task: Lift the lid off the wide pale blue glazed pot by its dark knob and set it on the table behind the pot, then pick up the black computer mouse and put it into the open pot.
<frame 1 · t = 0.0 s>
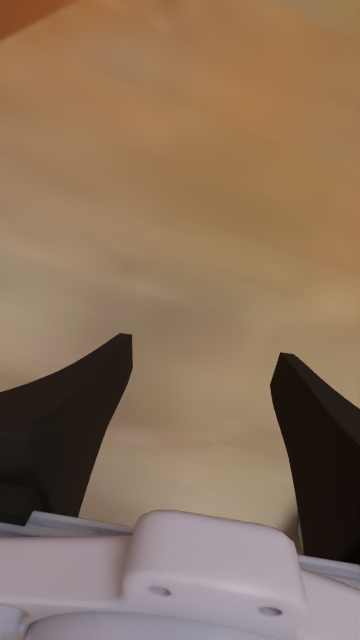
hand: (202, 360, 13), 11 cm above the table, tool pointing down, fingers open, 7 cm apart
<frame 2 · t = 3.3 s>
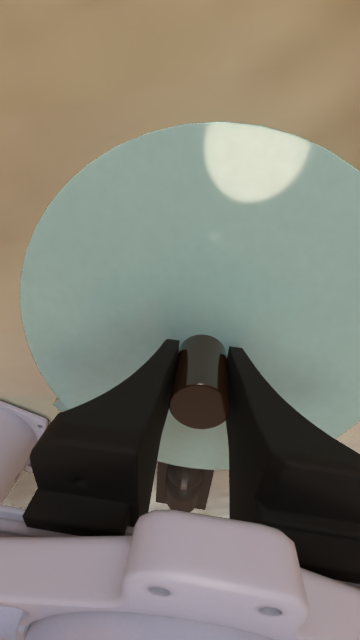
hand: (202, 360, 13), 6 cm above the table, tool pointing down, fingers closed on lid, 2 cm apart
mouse: (186, 455, 25), on the table
lid: (202, 348, 13), point 5 cm above the table, touching gripper, pot
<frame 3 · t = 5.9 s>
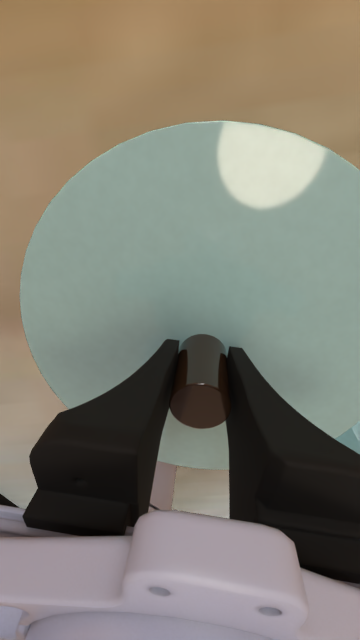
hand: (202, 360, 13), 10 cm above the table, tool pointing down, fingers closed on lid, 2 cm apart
pot: (356, 348, 23), on the table
lid: (202, 348, 13), point 9 cm above the table, touching gripper
when the fingers open (2 cm above the table, at t = 8.9 s): lid stays where it is, point 1 cm above the table.
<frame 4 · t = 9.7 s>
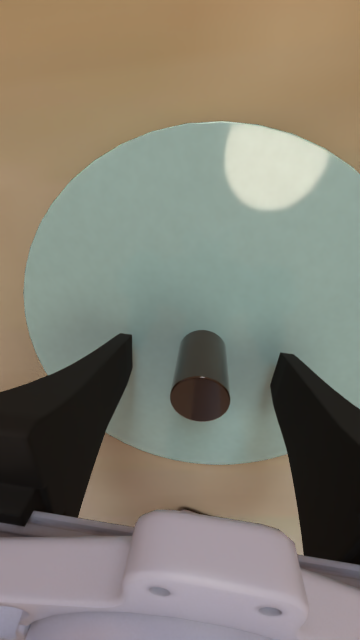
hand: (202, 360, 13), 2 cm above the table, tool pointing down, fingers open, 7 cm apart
lid: (202, 344, 14), point 1 cm above the table
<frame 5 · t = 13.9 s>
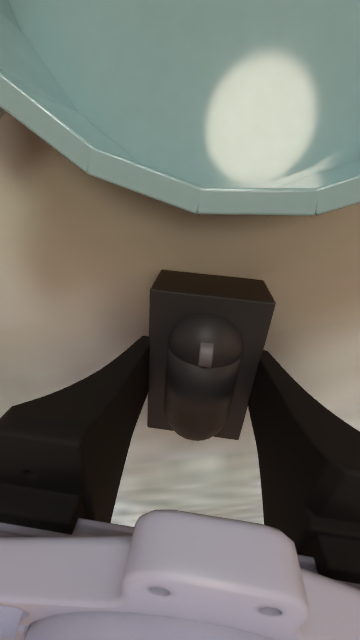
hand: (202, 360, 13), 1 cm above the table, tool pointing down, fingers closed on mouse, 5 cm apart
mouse: (202, 344, 14), on the table, touching gripper
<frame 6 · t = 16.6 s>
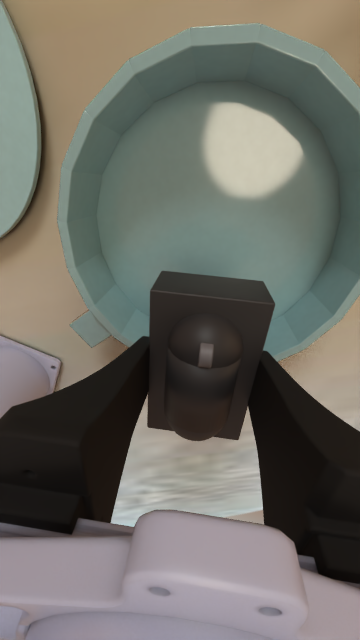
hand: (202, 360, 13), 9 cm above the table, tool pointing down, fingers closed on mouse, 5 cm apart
pot: (211, 234, 19), on the table
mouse: (202, 344, 14), point 8 cm above the table, touching gripper
when the fingers open (2 cm above the table, at t = 19.3 s): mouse stays where it is, resting on pot.
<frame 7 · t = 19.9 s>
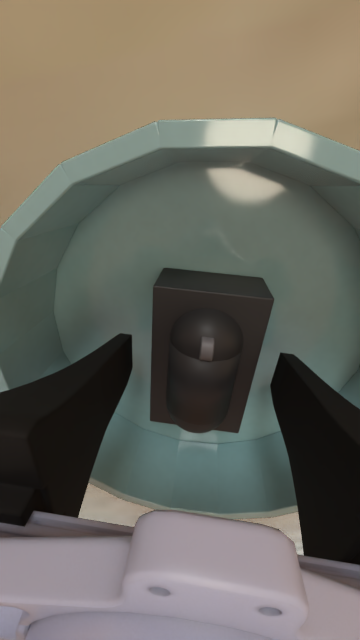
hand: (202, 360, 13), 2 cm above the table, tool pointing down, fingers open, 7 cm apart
pot: (203, 336, 15), on the table
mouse: (203, 340, 14), resting on pot
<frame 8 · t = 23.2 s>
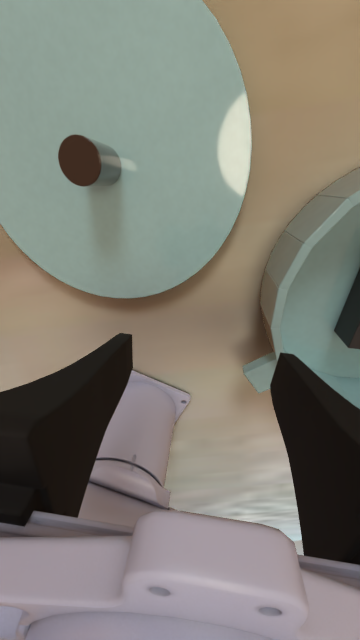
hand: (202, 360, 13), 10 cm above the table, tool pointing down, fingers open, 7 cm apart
lid: (106, 166, 17), point 1 cm above the table
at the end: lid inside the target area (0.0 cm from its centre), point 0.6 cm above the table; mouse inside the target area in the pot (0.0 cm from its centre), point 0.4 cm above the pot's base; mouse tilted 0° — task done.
